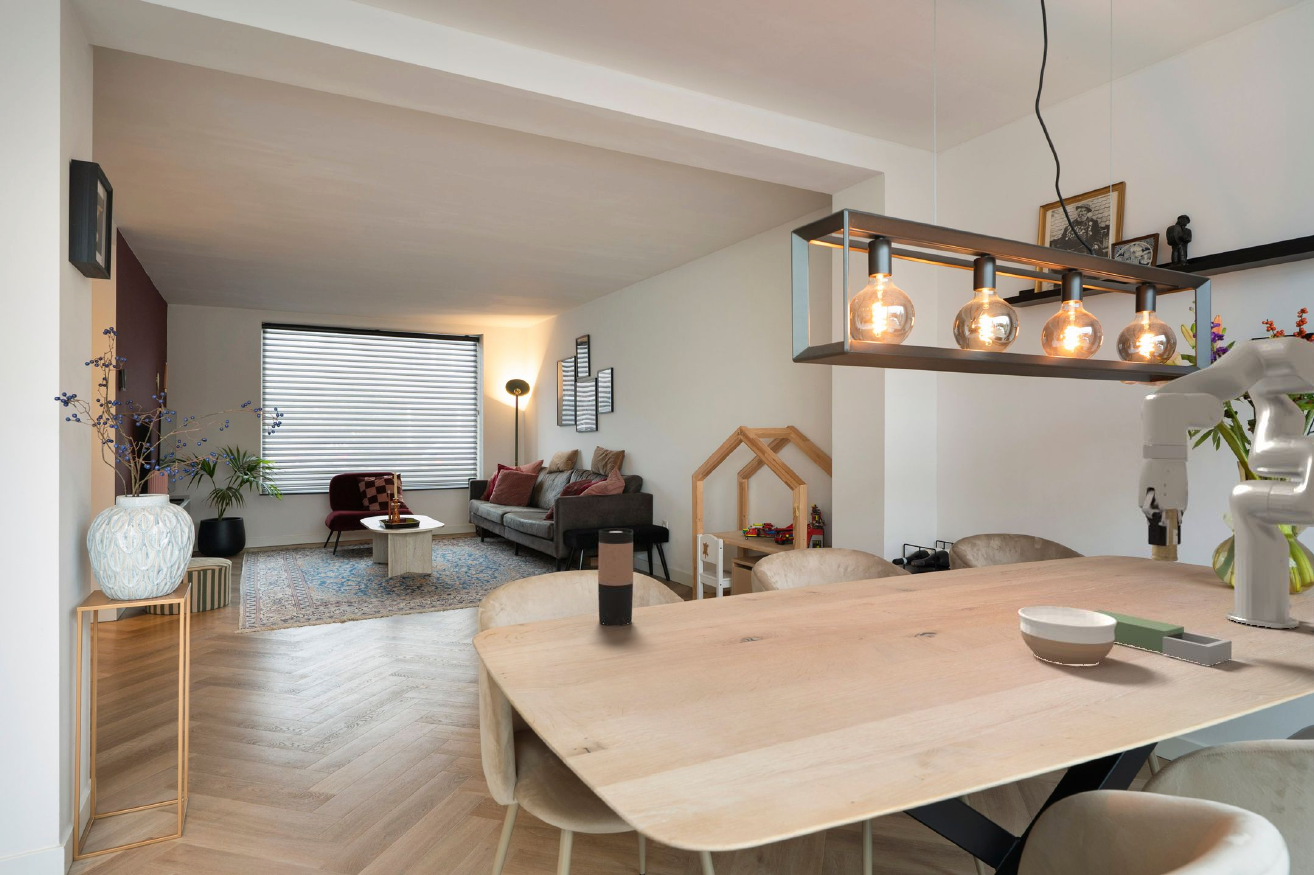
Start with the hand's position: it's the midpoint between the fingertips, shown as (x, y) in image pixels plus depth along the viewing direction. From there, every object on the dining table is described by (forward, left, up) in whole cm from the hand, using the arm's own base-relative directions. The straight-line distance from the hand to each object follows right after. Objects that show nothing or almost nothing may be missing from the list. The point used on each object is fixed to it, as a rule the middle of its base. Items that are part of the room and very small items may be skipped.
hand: (1164, 543), depth 150 cm
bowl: (+30, -2, -20) cm, 36 cm away
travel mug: (+91, -66, -20) cm, 114 cm away
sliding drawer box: (+8, +2, -19) cm, 21 cm away
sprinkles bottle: (0, 0, -4) cm, 4 cm away
